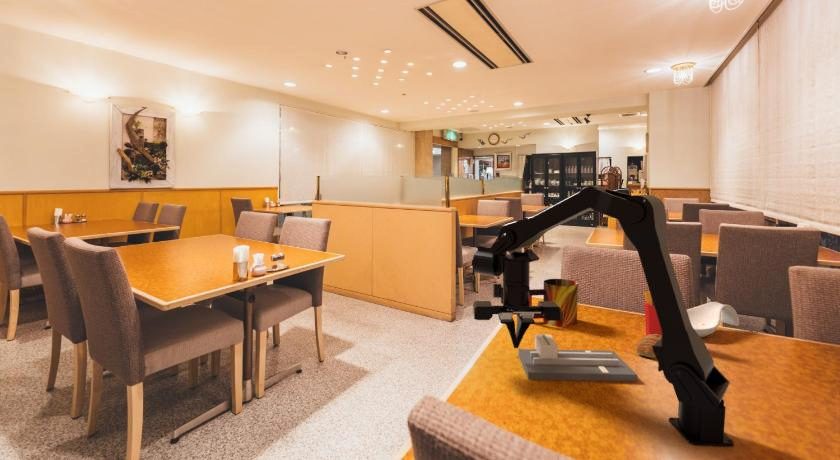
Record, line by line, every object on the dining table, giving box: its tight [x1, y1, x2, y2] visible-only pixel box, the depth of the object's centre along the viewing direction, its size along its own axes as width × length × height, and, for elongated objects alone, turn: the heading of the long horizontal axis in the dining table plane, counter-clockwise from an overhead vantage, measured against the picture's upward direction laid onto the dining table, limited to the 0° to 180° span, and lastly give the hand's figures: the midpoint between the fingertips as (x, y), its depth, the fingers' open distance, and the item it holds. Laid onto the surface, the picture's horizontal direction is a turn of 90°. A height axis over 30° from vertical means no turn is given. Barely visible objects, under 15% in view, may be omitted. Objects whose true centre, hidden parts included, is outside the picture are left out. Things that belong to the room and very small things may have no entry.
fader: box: [534, 334, 559, 359], centre depth 87 cm, size 6×4×5 cm, turn 175°
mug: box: [529, 278, 579, 328], centre depth 116 cm, size 10×14×12 cm
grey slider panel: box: [517, 348, 638, 383], centre depth 87 cm, size 12×22×3 cm, turn 85°
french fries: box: [643, 290, 662, 337], centre depth 100 cm, size 9×4×13 cm, turn 33°
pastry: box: [636, 334, 662, 359], centre depth 94 cm, size 9×7×4 cm
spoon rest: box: [686, 301, 740, 338], centre depth 108 cm, size 24×12×7 cm, turn 114°
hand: (515, 347), depth 87 cm, fingers closed
